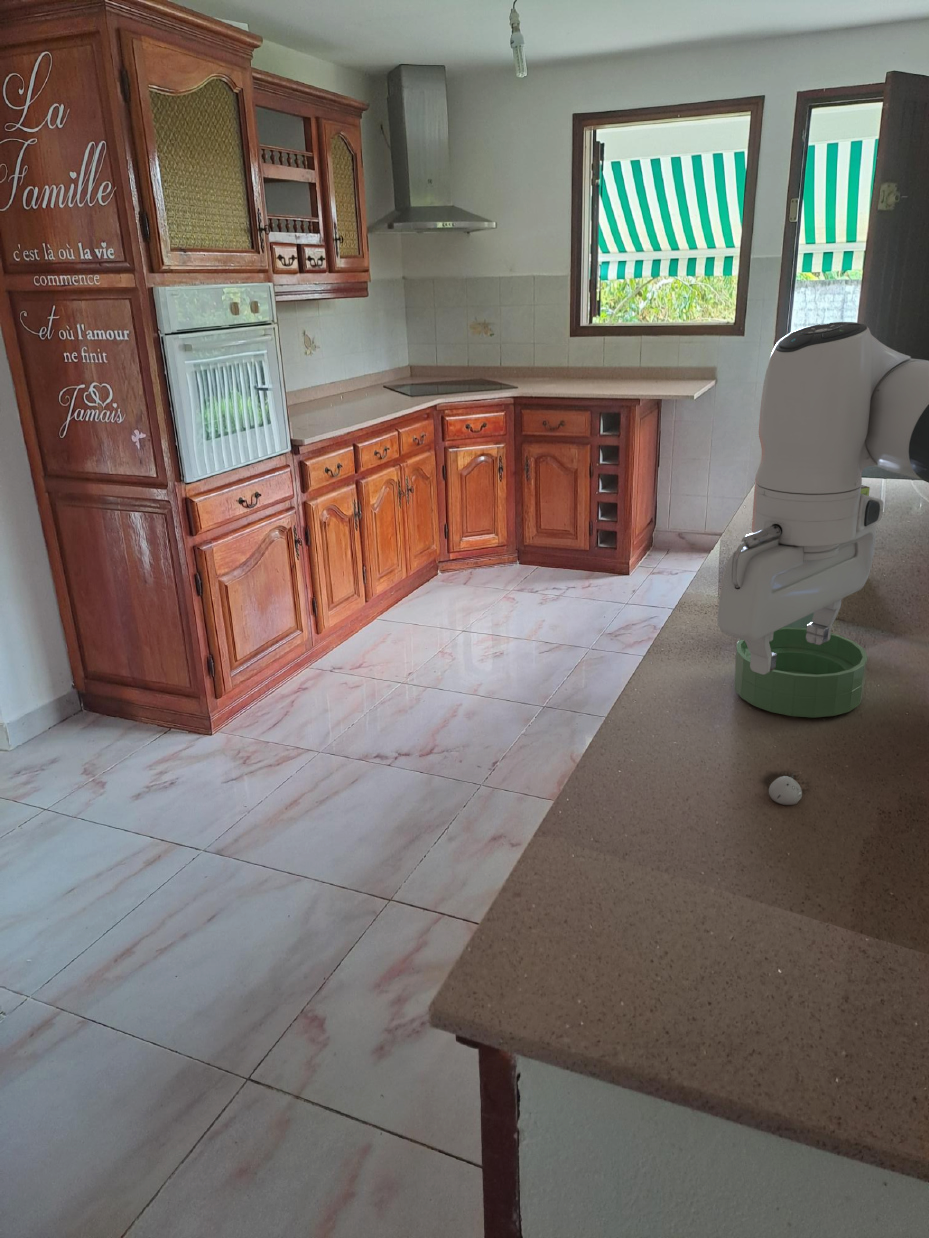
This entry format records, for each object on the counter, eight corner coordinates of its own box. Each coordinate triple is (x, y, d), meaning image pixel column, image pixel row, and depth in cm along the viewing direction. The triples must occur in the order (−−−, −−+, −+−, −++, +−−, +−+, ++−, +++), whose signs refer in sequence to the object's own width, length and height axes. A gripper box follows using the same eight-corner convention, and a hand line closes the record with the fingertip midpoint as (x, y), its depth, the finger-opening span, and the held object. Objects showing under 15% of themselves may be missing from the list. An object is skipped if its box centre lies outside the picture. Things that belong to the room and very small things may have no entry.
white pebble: (805, 792, 91) (807, 770, 90) (796, 812, 88) (798, 789, 87) (773, 785, 92) (775, 763, 91) (763, 804, 89) (765, 782, 88)
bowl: (884, 692, 110) (890, 649, 108) (820, 734, 102) (824, 688, 99) (776, 658, 121) (779, 618, 119) (709, 694, 113) (711, 651, 111)
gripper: (769, 547, 70) (757, 701, 76) (893, 499, 82) (875, 635, 87) (703, 532, 75) (696, 679, 80) (830, 489, 87) (816, 619, 92)
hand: (790, 655), depth 84 cm, fingers open, 8 cm apart
